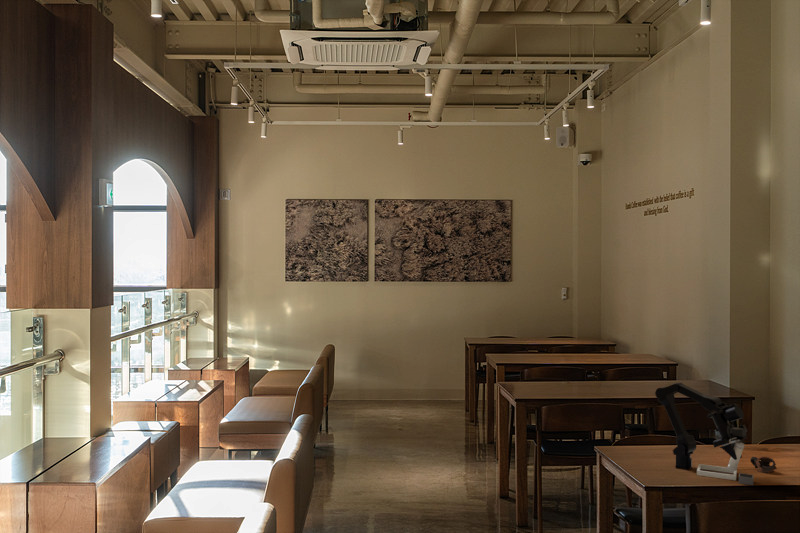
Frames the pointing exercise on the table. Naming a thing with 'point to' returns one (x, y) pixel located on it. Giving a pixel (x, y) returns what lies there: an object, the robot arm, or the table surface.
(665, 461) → the table surface
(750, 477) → the fuse holder
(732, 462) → the fuse
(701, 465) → the parts tray
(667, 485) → the table surface
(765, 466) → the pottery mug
